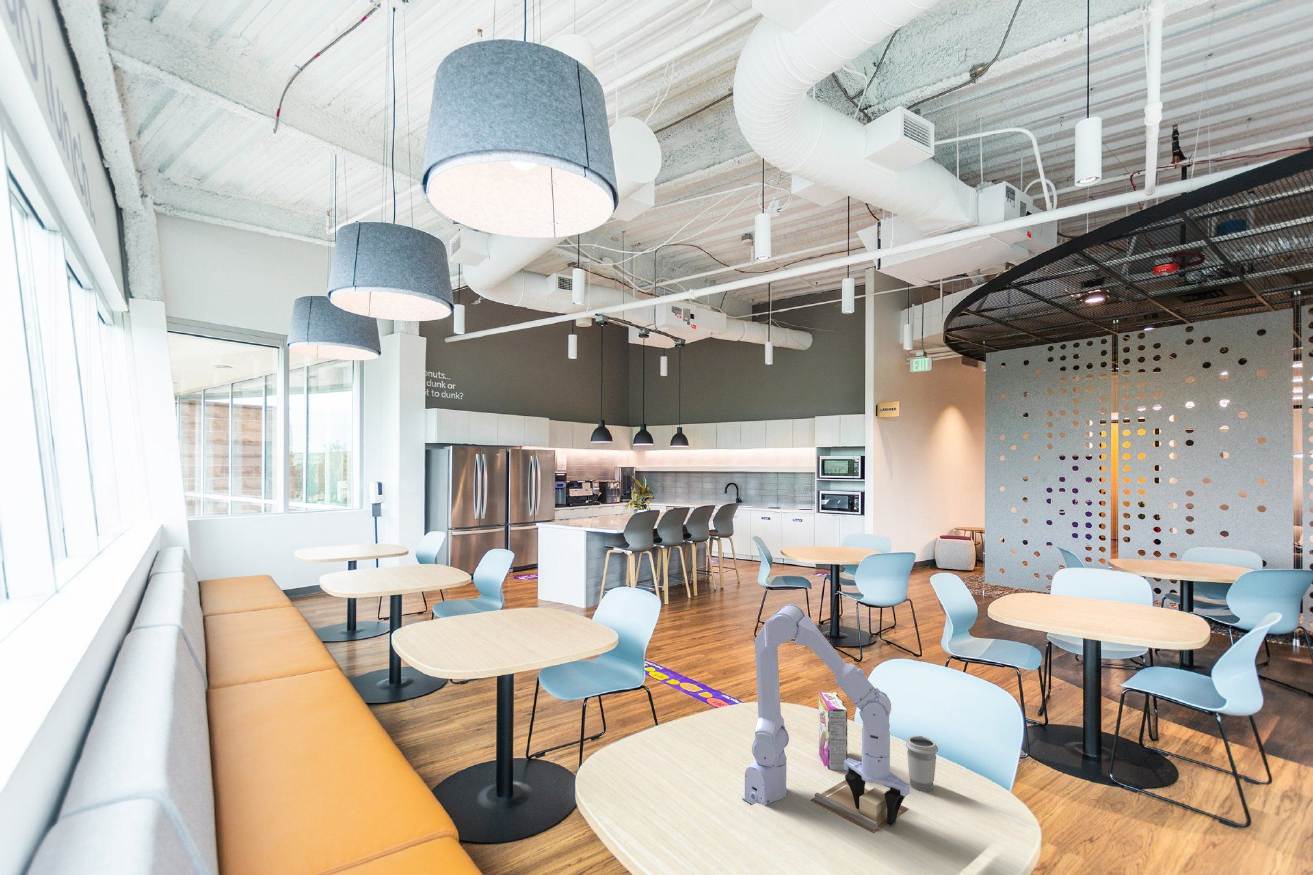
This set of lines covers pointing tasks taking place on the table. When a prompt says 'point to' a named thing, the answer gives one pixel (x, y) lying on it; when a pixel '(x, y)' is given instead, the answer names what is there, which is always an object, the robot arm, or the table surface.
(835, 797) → the walnut board
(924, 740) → the cup
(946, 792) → the table surface
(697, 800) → the table surface
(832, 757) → the candy bar box
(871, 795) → the block
